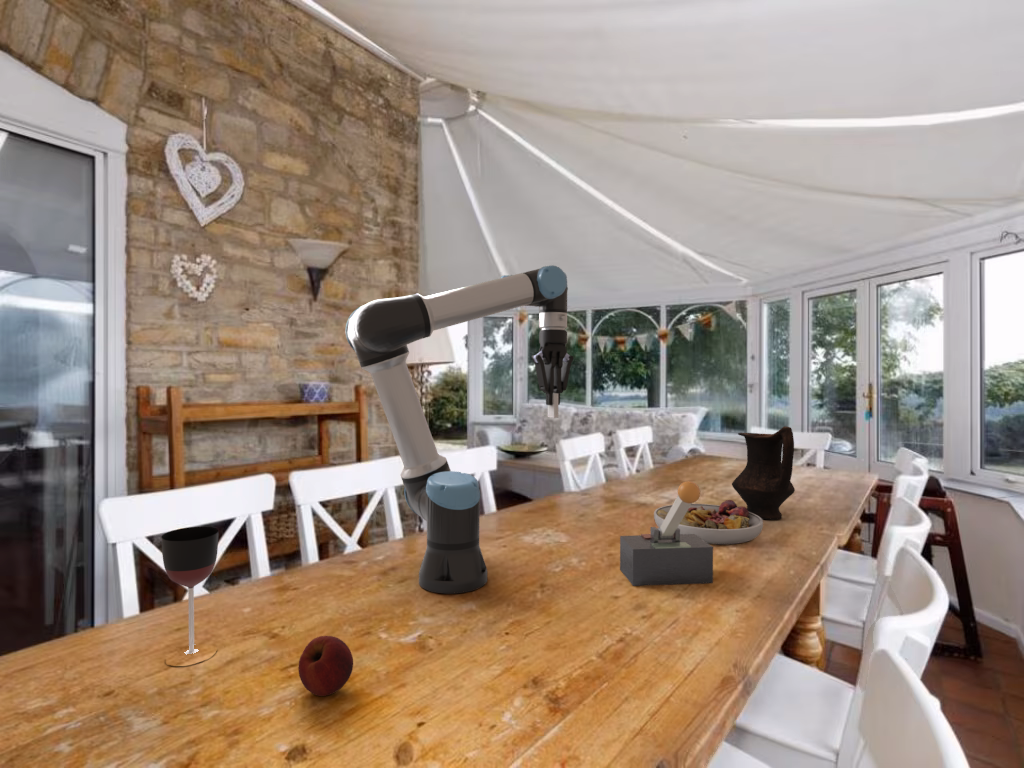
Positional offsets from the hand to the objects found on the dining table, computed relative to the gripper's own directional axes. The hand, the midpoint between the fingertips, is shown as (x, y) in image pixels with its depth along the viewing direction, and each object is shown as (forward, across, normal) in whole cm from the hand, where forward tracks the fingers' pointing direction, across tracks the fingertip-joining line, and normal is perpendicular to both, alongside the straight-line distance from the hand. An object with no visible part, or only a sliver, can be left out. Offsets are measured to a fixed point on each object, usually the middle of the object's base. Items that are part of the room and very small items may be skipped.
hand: (552, 417), depth 150 cm
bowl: (+35, +45, -16) cm, 59 cm away
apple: (+35, -71, -35) cm, 86 cm away
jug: (+35, +74, -17) cm, 83 cm away
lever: (+25, +6, -32) cm, 42 cm away
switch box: (+34, +6, -33) cm, 48 cm away
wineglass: (+35, -86, -12) cm, 93 cm away
